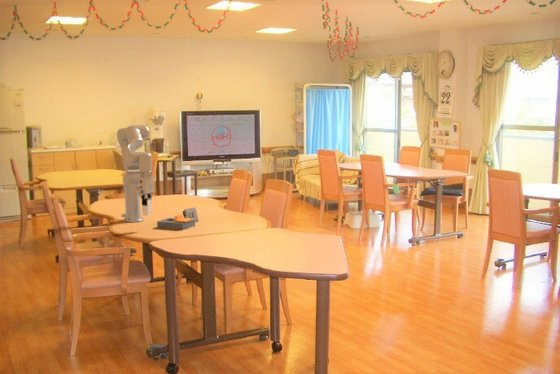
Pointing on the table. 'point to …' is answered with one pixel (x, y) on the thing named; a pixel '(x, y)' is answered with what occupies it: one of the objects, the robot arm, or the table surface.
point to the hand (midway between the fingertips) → (146, 204)
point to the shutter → (181, 219)
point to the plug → (147, 207)
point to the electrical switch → (191, 214)
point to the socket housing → (175, 224)
